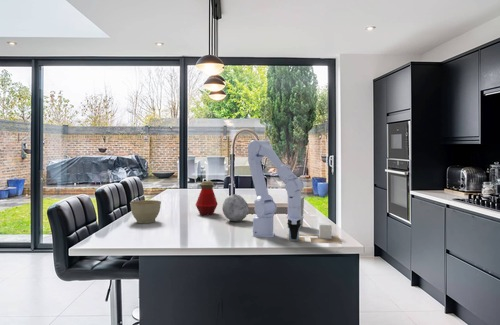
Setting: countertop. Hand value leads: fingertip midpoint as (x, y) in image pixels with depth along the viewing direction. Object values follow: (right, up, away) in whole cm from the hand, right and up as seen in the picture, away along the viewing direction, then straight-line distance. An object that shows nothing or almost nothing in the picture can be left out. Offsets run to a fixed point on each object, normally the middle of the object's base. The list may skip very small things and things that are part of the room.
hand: (293, 237), depth 155 cm
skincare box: (+4, -1, +27) cm, 27 cm away
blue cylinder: (0, -1, 0) cm, 1 cm away
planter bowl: (-76, 0, +39) cm, 85 cm away
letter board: (+9, -1, +3) cm, 9 cm away
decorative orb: (-27, 0, +43) cm, 50 cm away
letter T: (+6, -1, +2) cm, 7 cm away
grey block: (+15, -1, +5) cm, 16 cm away
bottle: (-46, +1, +64) cm, 79 cm away
